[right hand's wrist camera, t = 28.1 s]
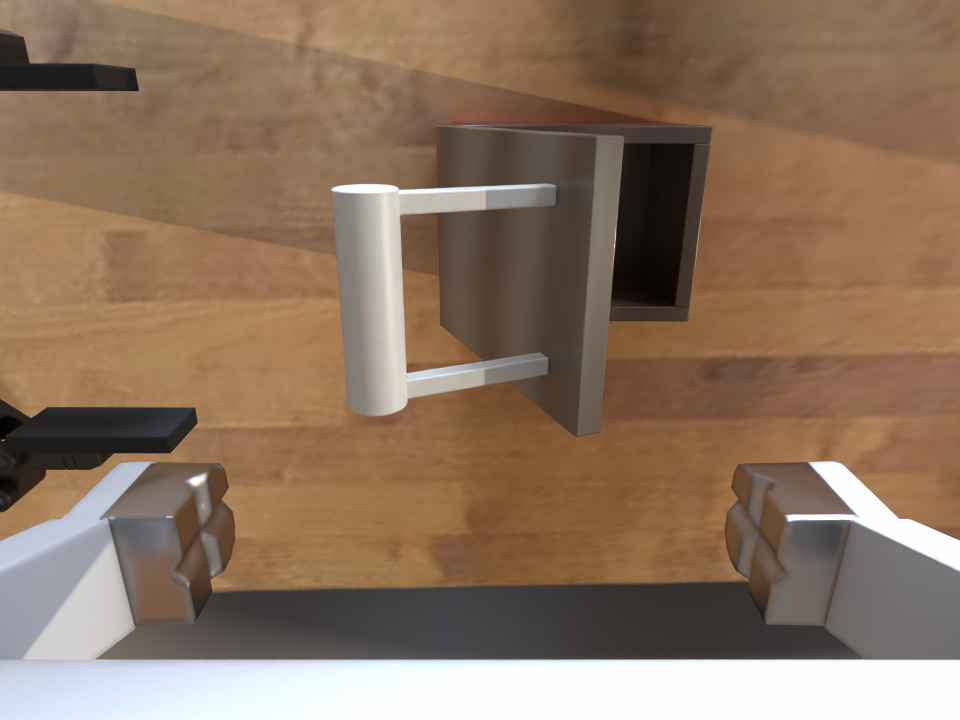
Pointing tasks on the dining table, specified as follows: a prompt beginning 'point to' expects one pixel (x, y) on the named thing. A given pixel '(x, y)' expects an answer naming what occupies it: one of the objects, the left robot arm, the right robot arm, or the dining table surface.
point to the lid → (490, 270)
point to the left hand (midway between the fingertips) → (154, 271)
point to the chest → (650, 212)
